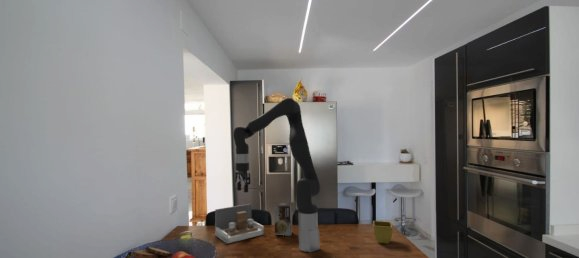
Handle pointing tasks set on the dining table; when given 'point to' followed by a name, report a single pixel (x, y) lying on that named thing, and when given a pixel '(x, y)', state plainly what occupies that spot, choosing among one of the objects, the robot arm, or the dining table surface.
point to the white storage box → (228, 216)
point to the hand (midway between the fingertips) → (242, 191)
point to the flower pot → (383, 231)
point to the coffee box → (283, 219)
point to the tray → (241, 225)
